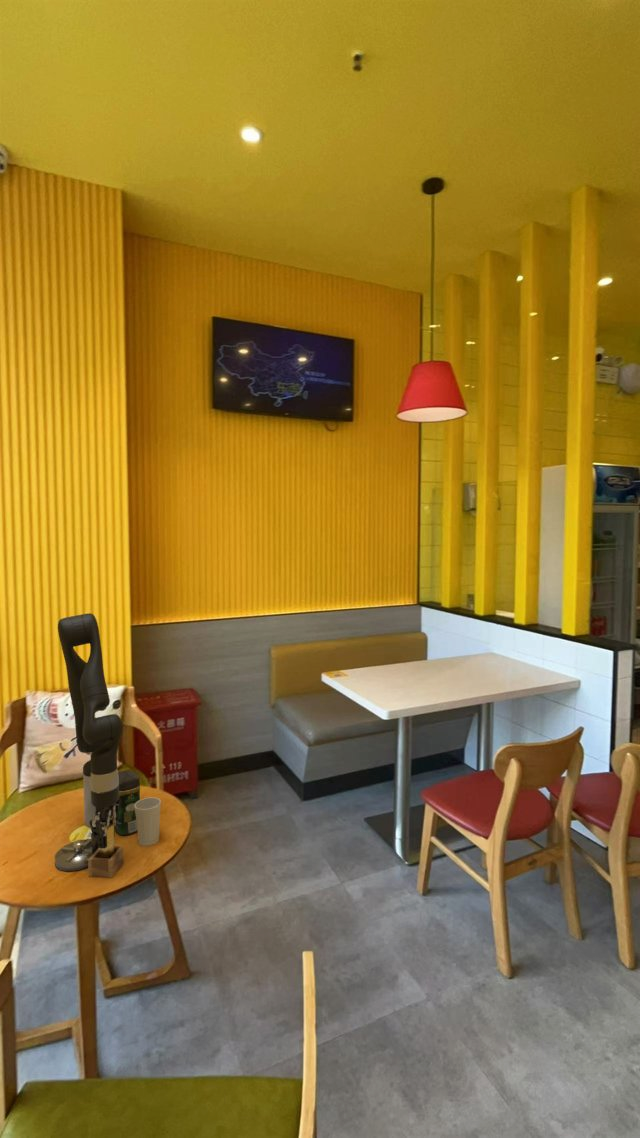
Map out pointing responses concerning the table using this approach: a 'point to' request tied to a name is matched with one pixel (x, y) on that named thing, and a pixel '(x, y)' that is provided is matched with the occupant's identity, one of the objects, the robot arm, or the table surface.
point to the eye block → (105, 863)
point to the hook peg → (108, 843)
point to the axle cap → (78, 845)
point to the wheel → (76, 855)
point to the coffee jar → (127, 802)
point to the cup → (148, 820)
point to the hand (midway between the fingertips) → (106, 842)
